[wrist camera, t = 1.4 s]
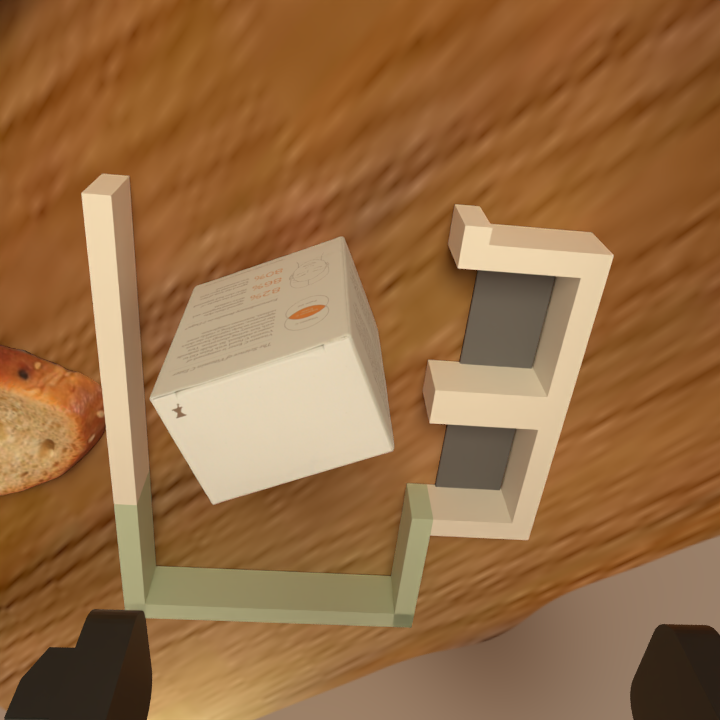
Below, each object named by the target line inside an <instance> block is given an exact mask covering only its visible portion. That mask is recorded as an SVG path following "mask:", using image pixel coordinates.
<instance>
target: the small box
mask: <svg viewBox="0 0 720 720" xmlns="http://www.w3.org/2000/svg"><path fill="white" fill-rule="evenodd" d="M150 401H151V402H152V404H153V405H154V407H155V409H156V411H157V412H158V414H159V416H160V417H161V419H162V421H163V423H164V424H165V426H166V428H167V429H168V431H169V433H170V434H171V436H172V438H173V440H174V441H175V443H176V445H177V446H178V448H179V450H180V451H181V453H182V455H183V456H184V458H185V460H186V461H187V463H188V465H189V466H190V468H191V470H192V471H193V473H194V475H195V476H196V478H197V480H198V482H199V483H200V485H201V486H202V488H203V490H204V491H205V493H206V494H207V496H208V498H209V499H210V501H211V503H212V504H214V505H215V504H218V503H221V502H225V501H228V500H231V499H234V498H238V497H241V496H245V495H248V494H251V493H255V492H258V491H261V490H264V489H268V488H271V487H274V486H278V485H281V484H284V483H288V482H291V481H294V480H297V479H301V478H305V477H308V476H311V475H314V474H318V473H321V472H324V471H328V470H331V469H335V468H338V467H341V466H345V465H348V464H351V463H355V462H358V461H361V460H365V459H368V458H372V457H375V456H379V455H382V454H385V453H389V452H392V451H393V450H394V439H393V432H392V425H391V419H390V411H389V404H388V397H387V389H386V381H385V375H384V369H383V362H382V354H381V347H380V341H379V335H378V329H377V326H376V323H375V320H374V317H373V314H372V311H371V309H370V306H369V303H368V300H367V297H366V295H365V292H364V289H363V287H362V284H361V281H360V278H359V276H358V273H357V270H356V267H355V265H354V262H353V259H352V257H351V254H350V251H349V249H348V246H347V244H346V241H345V239H344V237H338V238H335V239H332V240H330V241H327V242H324V243H321V244H318V245H315V246H312V247H310V248H307V249H304V250H301V251H298V252H295V253H292V254H289V255H286V256H283V257H280V258H277V259H274V260H272V261H269V262H266V263H263V264H260V265H257V266H254V267H251V268H248V269H245V270H242V271H239V272H237V273H234V274H231V275H228V276H225V277H222V278H219V279H216V280H213V281H210V282H207V283H204V284H201V285H198V286H196V287H195V288H194V290H193V292H192V295H191V297H190V300H189V302H188V305H187V307H186V309H185V312H184V314H183V317H182V319H181V322H180V324H179V327H178V329H177V332H176V334H175V336H174V339H173V341H172V344H171V346H170V349H169V351H168V354H167V356H166V359H165V361H164V364H163V366H162V369H161V371H160V373H159V376H158V378H157V381H156V383H155V386H154V388H153V391H152V393H151V396H150Z"/></svg>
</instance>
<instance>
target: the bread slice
mask: <svg viewBox="0 0 720 720" xmlns="http://www.w3.org/2000/svg"><path fill="white" fill-rule="evenodd" d="M105 428H106V423H105V413H104V404H103V394H102V388H101V387H100V385H99V384H98V383H96V382H95V381H94V380H92V379H90V378H89V377H87V376H85V375H84V374H82V373H80V372H76V371H71V370H68V369H66V368H64V367H62V366H60V365H58V364H56V363H53V362H51V361H48V360H45V359H42V358H39V357H37V356H35V355H33V354H31V353H29V352H27V351H24V350H20V349H14V348H9V347H6V346H3V345H0V496H1V495H6V494H10V493H15V492H20V491H24V490H26V489H29V488H31V487H34V486H36V485H39V484H42V483H45V482H47V481H50V480H52V479H55V478H57V477H59V476H61V475H63V474H64V473H65V472H67V471H68V470H69V469H70V468H72V467H73V466H74V465H75V464H76V463H77V462H79V461H80V460H81V459H82V458H83V457H84V456H85V455H86V454H87V453H88V452H89V451H90V450H91V449H92V447H93V446H94V445H95V444H96V443H97V442H98V441H99V439H100V438H101V436H102V435H103V433H104V431H105Z"/></svg>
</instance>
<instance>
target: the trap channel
mask: <svg viewBox="0 0 720 720" xmlns="http://www.w3.org/2000/svg"><path fill="white" fill-rule="evenodd" d="M82 203H83V212H84V222H85V232H86V241H87V251H88V260H89V270H90V279H91V289H92V299H93V308H94V318H95V327H96V337H97V346H98V356H99V366H100V375H101V385H102V394H103V404H104V413H105V423H106V433H107V442H108V452H109V461H110V471H111V480H112V490H113V500H114V509H115V519H116V528H117V538H118V547H119V557H120V567H121V576H122V586H123V595H124V605H125V610H142V611H144V614H145V618H158V619H186V620H214V621H242V622H270V623H298V624H326V625H354V626H382V627H410V628H411V627H412V622H413V617H414V612H415V607H416V602H417V598H418V593H419V588H420V583H421V578H422V573H423V568H424V563H425V558H426V553H427V548H428V543H429V538H430V536H452V537H473V538H494V539H516V540H528V539H529V536H530V532H531V529H532V526H533V522H534V519H535V516H536V512H537V509H538V506H539V503H540V499H541V496H542V493H543V489H544V486H545V483H546V479H547V476H548V473H549V469H550V466H551V463H552V459H553V456H554V453H555V449H556V446H557V443H558V439H559V436H560V433H561V429H562V426H563V423H564V419H565V416H566V413H567V409H568V406H569V403H570V400H571V396H572V393H573V390H574V386H575V383H576V380H577V376H578V373H579V370H580V366H581V363H582V360H583V356H584V353H585V350H586V346H587V343H588V340H589V336H590V333H591V330H592V326H593V323H594V320H595V316H596V313H597V310H598V306H599V303H600V300H601V296H602V293H603V290H604V287H605V283H606V280H607V277H608V273H609V270H610V267H611V263H612V260H613V257H614V255H613V254H612V253H611V252H610V251H609V250H608V249H607V248H606V247H605V246H604V245H603V244H602V243H601V241H600V240H599V239H598V238H597V237H596V236H595V235H594V234H593V233H592V232H580V231H569V230H557V229H545V228H533V227H522V226H510V225H498V224H490V223H489V221H488V219H487V218H486V216H485V214H484V213H483V211H482V209H481V208H480V206H469V205H458V204H455V206H454V211H453V217H452V223H451V229H450V235H449V241H448V246H449V248H450V251H451V253H452V256H453V258H454V261H455V263H456V265H457V268H460V269H472V270H478V271H477V276H476V281H475V286H474V291H473V296H472V301H471V306H470V311H469V316H468V321H467V326H466V331H465V336H464V341H463V346H462V351H461V357H460V362H453V361H438V360H428V363H427V369H426V375H425V381H424V386H423V395H424V400H425V405H426V409H427V414H428V419H429V423H433V424H447V427H446V432H445V437H444V442H443V447H442V452H441V457H440V463H439V468H438V473H437V478H436V483H435V485H432V484H413V483H407V486H406V491H405V497H404V503H403V509H402V515H401V520H400V526H399V532H398V538H397V544H396V550H395V555H394V561H393V567H392V573H391V576H382V575H358V574H334V573H310V572H286V571H262V570H238V569H214V568H191V567H167V566H156V558H155V543H154V529H153V514H152V499H151V485H150V470H149V456H148V441H147V426H146V412H145V397H144V382H143V368H142V353H141V339H140V324H139V309H138V295H137V280H136V265H135V251H134V236H133V222H132V207H131V192H130V178H129V176H123V175H112V174H101V175H100V176H99V177H98V178H97V179H96V180H95V181H94V182H93V183H92V184H91V185H90V186H89V187H87V188H86V189H85V190H84V191H83V192H82ZM555 276H556V278H555ZM554 280H555V282H554ZM553 284H554V286H553ZM552 288H553V289H552ZM551 292H552V293H551ZM550 295H551V297H550ZM549 299H550V301H549ZM548 303H549V305H548ZM547 307H548V309H547ZM546 311H547V312H546ZM545 315H546V316H545ZM544 319H545V320H544ZM543 322H544V324H543ZM542 326H543V328H542ZM541 330H542V332H541ZM540 334H541V336H540ZM539 338H540V339H539ZM538 342H539V343H538ZM537 345H538V347H537ZM536 349H537V351H536ZM535 353H536V355H535ZM534 357H535V359H534ZM533 361H534V362H533ZM532 365H533V366H532ZM515 430H516V432H515ZM514 434H515V435H514ZM513 438H514V439H513ZM512 442H513V443H512ZM511 445H512V447H511ZM510 449H511V451H510ZM509 453H510V455H509ZM508 457H509V458H508ZM507 461H508V462H507ZM506 465H507V466H506ZM505 468H506V470H505ZM504 472H505V474H504ZM503 476H504V478H503ZM502 480H503V481H502ZM501 484H502V485H501Z"/></svg>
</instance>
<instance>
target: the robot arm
mask: <svg viewBox="0 0 720 720" xmlns="http://www.w3.org/2000/svg"><path fill="white" fill-rule="evenodd" d="M151 690H152V667H151V659H150V651H149V643H148V634H147V626H146V618H145V614H144V611H142V610H104V609H94V610H92V611H91V612H90V613H89V614H88V616H87V618H86V621H85V623H84V626H83V628H82V631H81V634H80V636H79V639H78V642H77V645H76V647H75V648H57V647H49V648H48V649H47V651H46V652H45V653H44V654H43V655H42V656H41V657H40V658H39V660H38V661H37V662H36V663H35V664H34V665H33V666H32V667H31V669H30V670H29V671H28V672H27V673H26V674H25V675H24V676H23V677H22V679H21V680H20V682H19V685H18V687H17V689H16V692H15V694H14V696H13V699H12V701H11V703H10V706H9V708H8V710H7V713H6V715H5V717H4V718H5V720H147V716H148V711H149V706H150V699H151ZM630 700H631V709H632V714H633V719H634V720H720V635H719V634H718V632H717V631H716V630H715V629H714V628H712V627H710V626H707V625H674V624H669V625H668V624H662V625H659V626H658V627H657V628H656V629H655V631H654V633H653V635H652V638H651V640H650V642H649V644H648V647H647V649H646V651H645V654H644V656H643V658H642V660H641V663H640V665H639V667H638V669H637V672H636V674H635V676H634V679H633V681H632V685H631V692H630Z"/></svg>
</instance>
